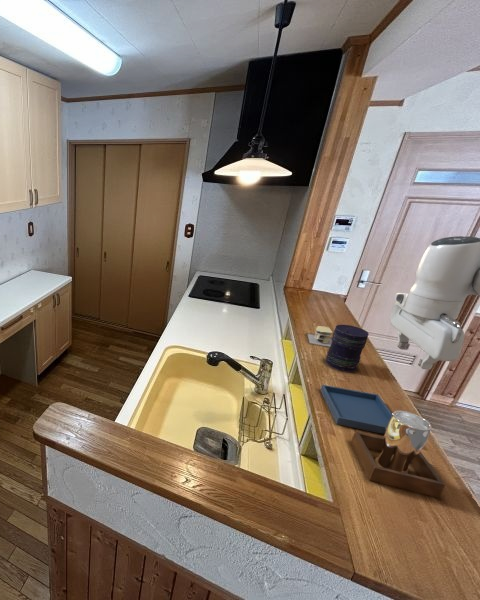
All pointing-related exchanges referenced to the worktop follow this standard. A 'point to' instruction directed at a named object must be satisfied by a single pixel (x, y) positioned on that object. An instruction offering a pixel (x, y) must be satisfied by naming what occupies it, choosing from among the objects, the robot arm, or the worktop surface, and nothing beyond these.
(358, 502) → the worktop surface
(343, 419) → the tray
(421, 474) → the wooden square box
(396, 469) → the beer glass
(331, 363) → the navy layered cylinder
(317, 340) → the stacked layers on plate
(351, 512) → the worktop surface
